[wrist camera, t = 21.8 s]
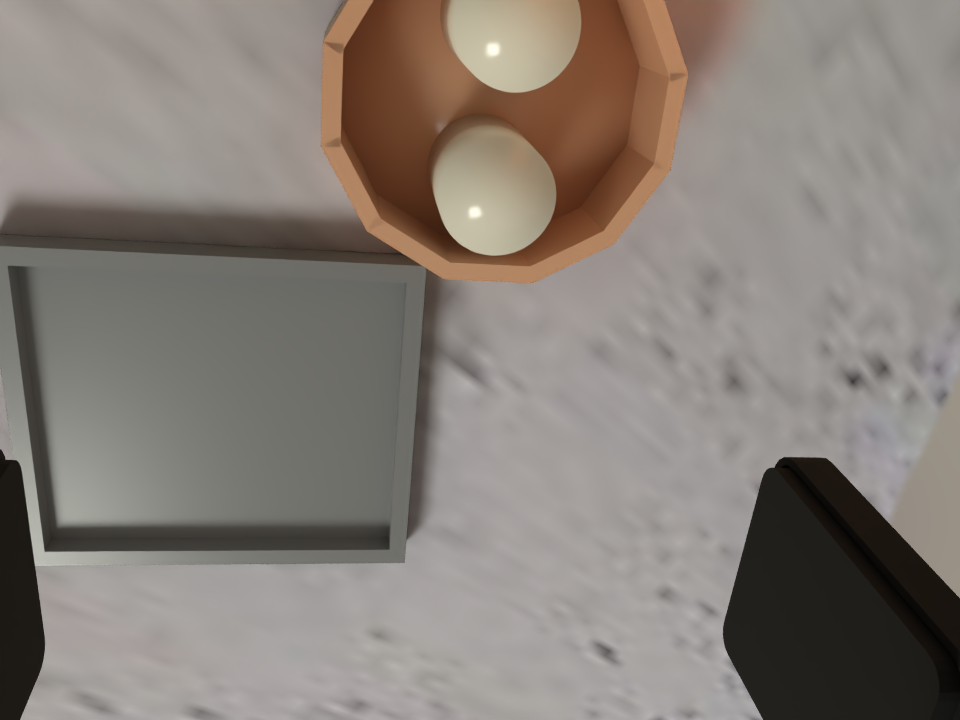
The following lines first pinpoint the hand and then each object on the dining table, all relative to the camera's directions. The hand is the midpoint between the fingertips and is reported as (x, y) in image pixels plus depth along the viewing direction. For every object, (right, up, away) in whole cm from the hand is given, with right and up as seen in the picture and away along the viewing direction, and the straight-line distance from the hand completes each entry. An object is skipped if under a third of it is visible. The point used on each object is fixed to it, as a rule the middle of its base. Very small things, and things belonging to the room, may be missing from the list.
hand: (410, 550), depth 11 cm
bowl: (+1, +13, +25) cm, 29 cm away
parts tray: (-11, 0, +30) cm, 32 cm away
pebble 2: (+1, +10, +26) cm, 28 cm away
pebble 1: (+2, +16, +23) cm, 28 cm away
